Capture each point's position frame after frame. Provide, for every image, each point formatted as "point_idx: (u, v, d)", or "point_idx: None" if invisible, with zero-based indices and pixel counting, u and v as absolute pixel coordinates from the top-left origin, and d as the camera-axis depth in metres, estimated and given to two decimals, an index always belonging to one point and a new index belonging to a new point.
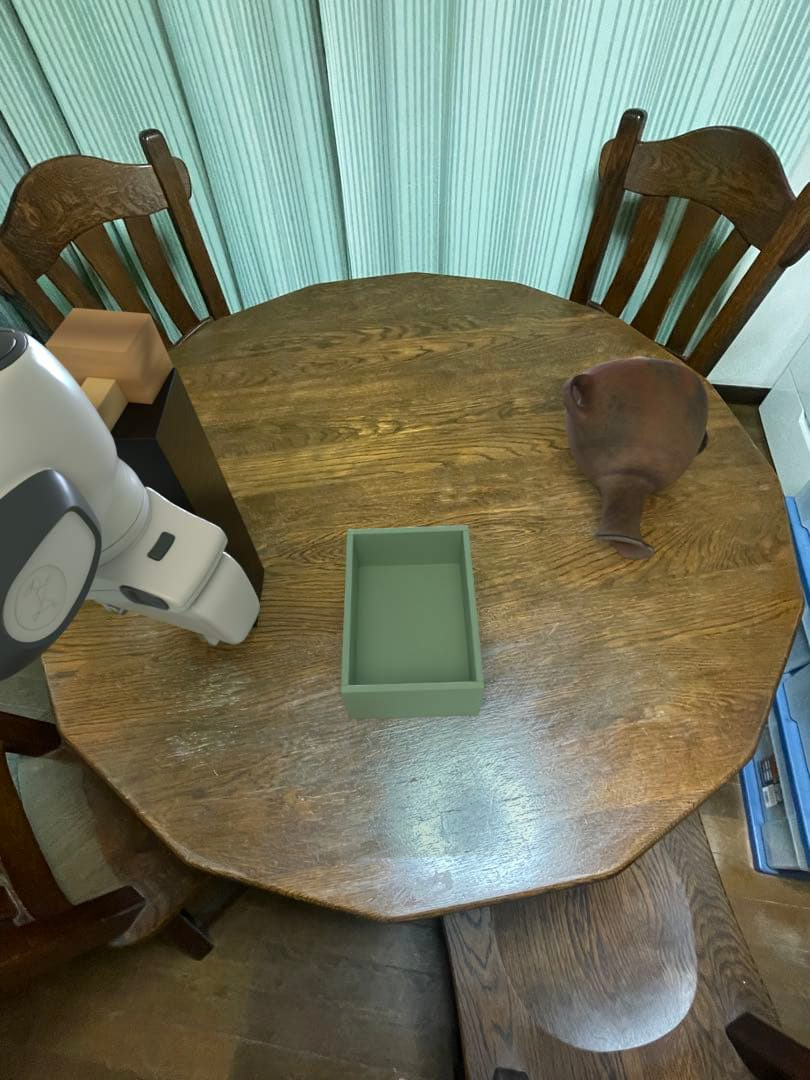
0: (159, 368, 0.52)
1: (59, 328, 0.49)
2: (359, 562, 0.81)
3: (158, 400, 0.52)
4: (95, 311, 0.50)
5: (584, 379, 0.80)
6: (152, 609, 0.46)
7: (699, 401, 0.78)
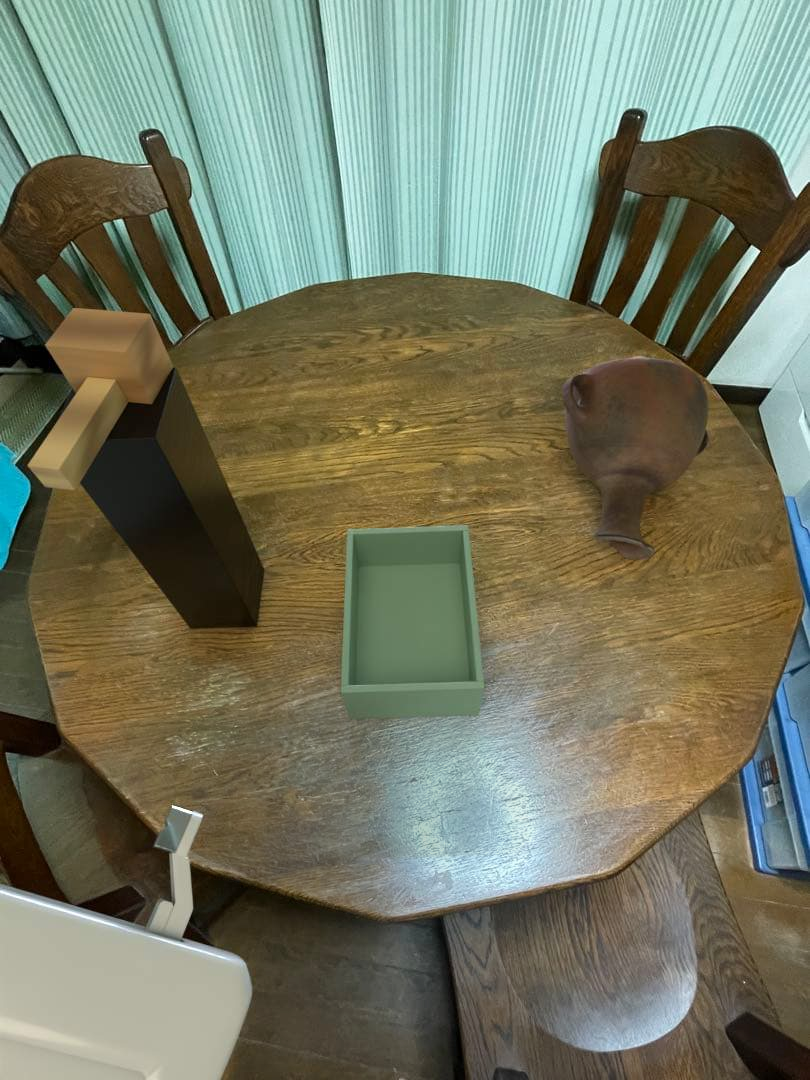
0: (159, 368, 0.52)
1: (59, 328, 0.49)
2: (359, 562, 0.81)
3: (158, 400, 0.52)
4: (95, 311, 0.50)
5: (584, 379, 0.80)
6: None
7: (699, 401, 0.78)
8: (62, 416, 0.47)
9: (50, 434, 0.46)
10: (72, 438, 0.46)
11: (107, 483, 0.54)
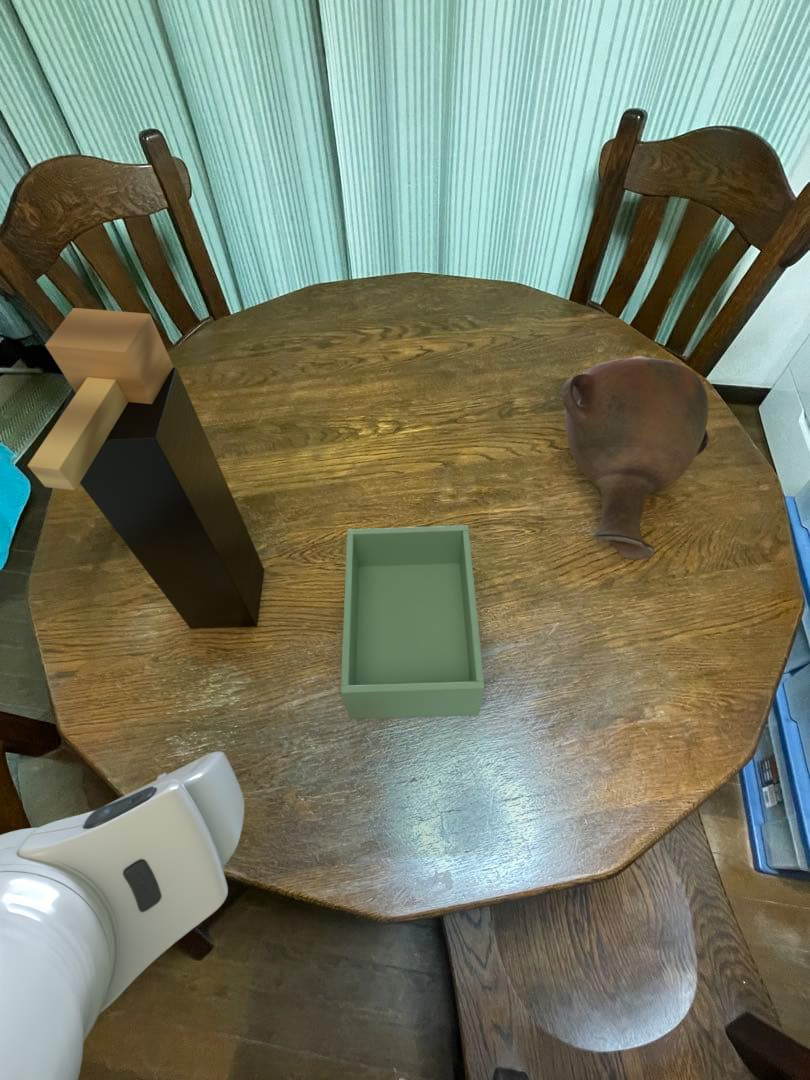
0: (159, 368, 0.52)
1: (59, 328, 0.49)
2: (359, 562, 0.81)
3: (158, 400, 0.52)
4: (95, 311, 0.50)
5: (584, 379, 0.80)
6: None
7: (699, 401, 0.78)
8: (62, 416, 0.47)
9: (50, 434, 0.46)
10: (72, 438, 0.46)
11: (107, 483, 0.54)
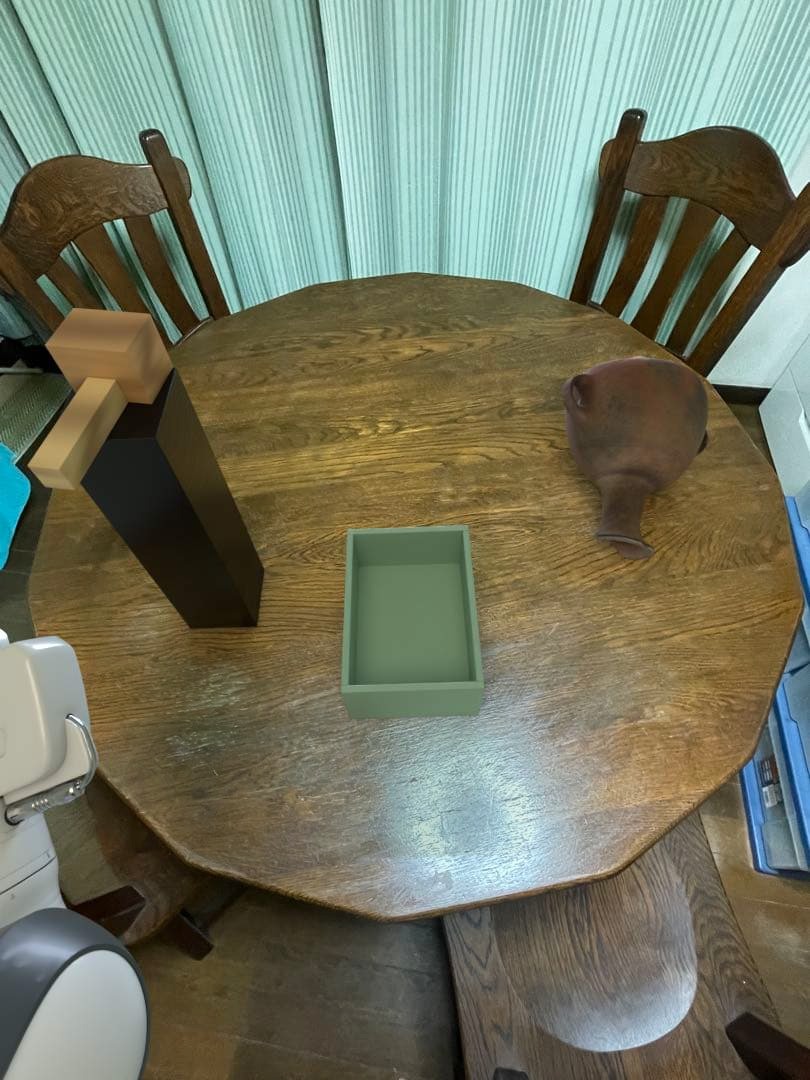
0: (159, 368, 0.52)
1: (59, 328, 0.49)
2: (359, 562, 0.81)
3: (158, 400, 0.52)
4: (95, 311, 0.50)
5: (584, 379, 0.80)
6: None
7: (699, 401, 0.78)
8: (62, 416, 0.47)
9: (50, 434, 0.46)
10: (72, 438, 0.46)
11: (107, 483, 0.54)
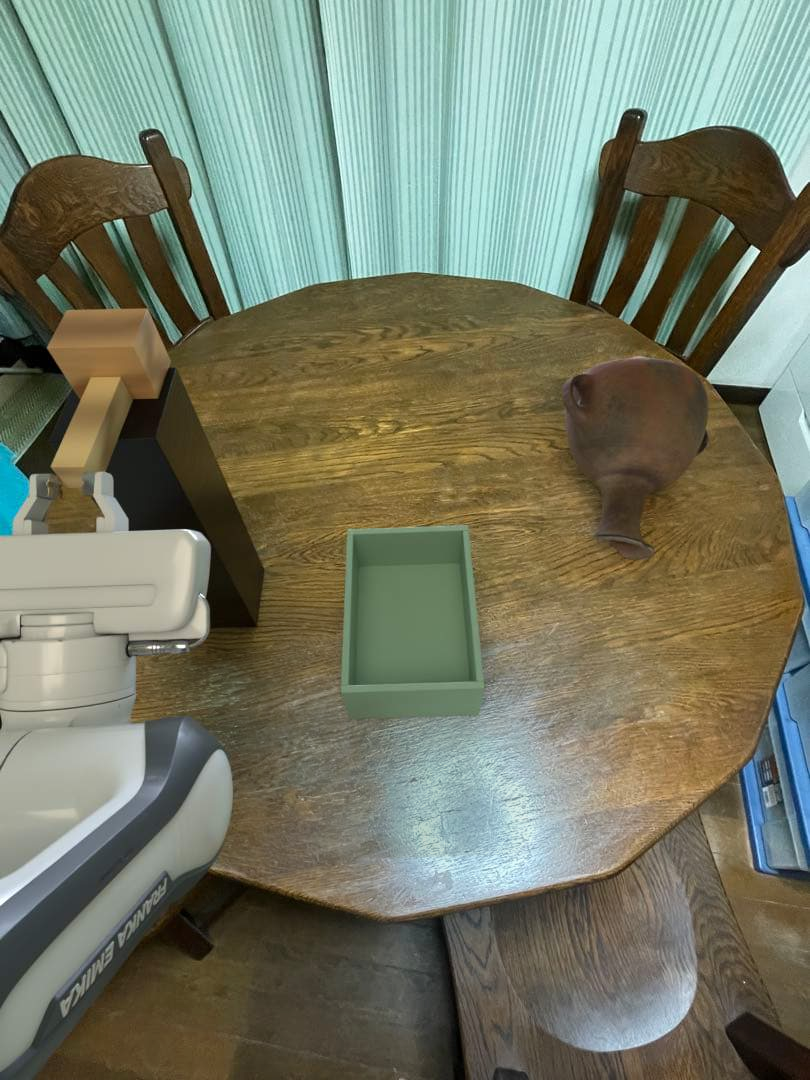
0: (160, 363, 0.52)
1: (57, 330, 0.48)
2: (359, 562, 0.81)
3: (158, 400, 0.52)
4: (90, 311, 0.50)
5: (584, 379, 0.80)
6: (18, 570, 0.42)
7: (699, 401, 0.78)
8: (74, 416, 0.47)
9: (66, 434, 0.46)
10: (91, 436, 0.46)
11: None
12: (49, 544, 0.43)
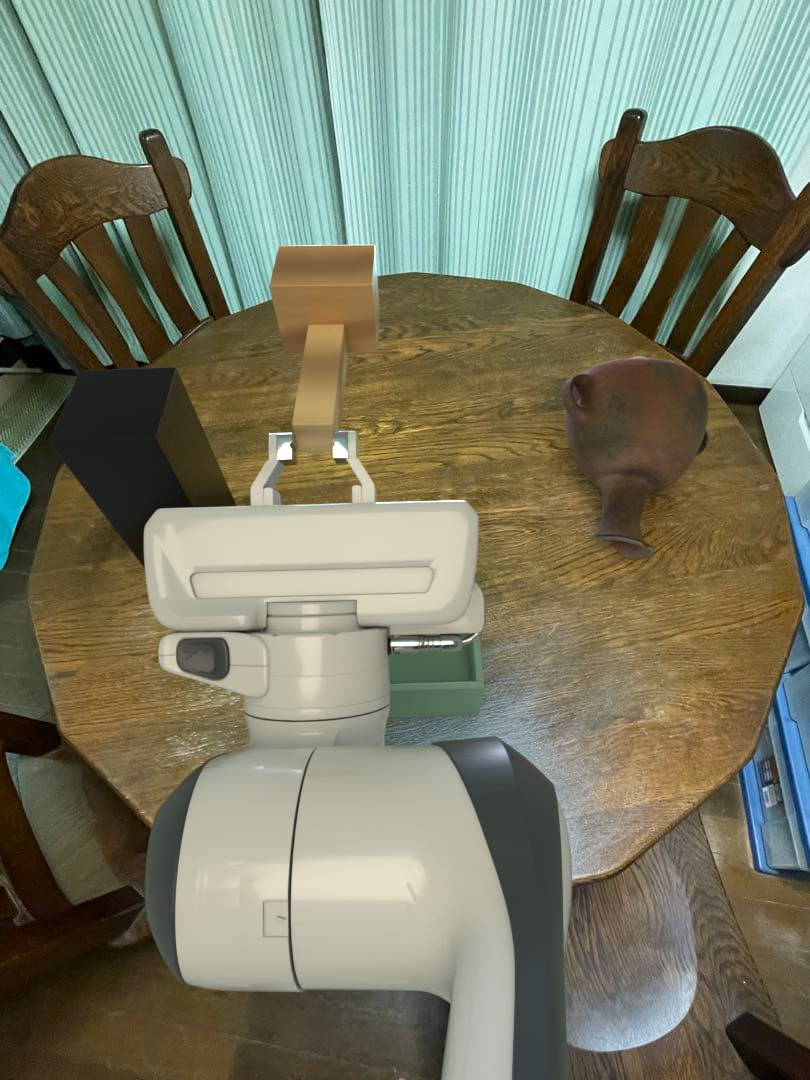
0: (377, 312, 0.45)
1: (276, 267, 0.41)
2: None
3: (158, 400, 0.52)
4: (308, 247, 0.42)
5: (584, 379, 0.80)
6: (263, 548, 0.35)
7: (699, 401, 0.78)
8: (303, 368, 0.39)
9: (300, 388, 0.38)
10: (331, 390, 0.38)
11: (107, 483, 0.54)
12: (300, 517, 0.35)
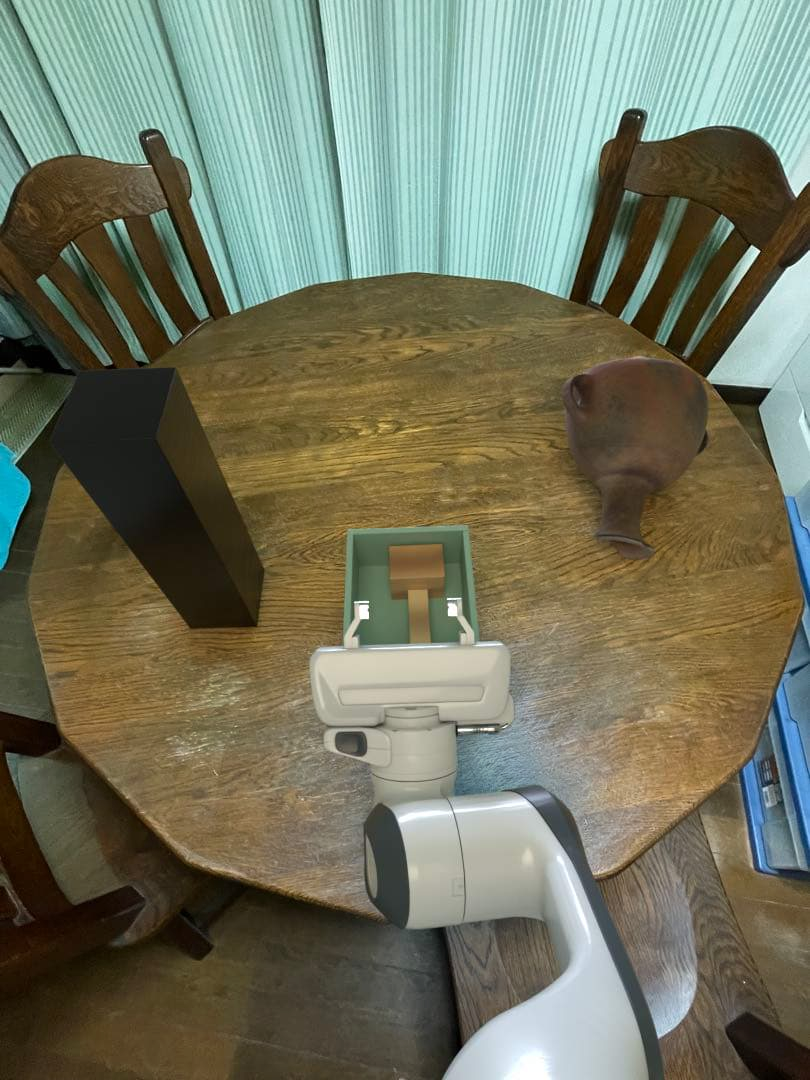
0: None
1: (391, 564, 0.75)
2: (359, 562, 0.81)
3: (158, 400, 0.52)
4: (405, 547, 0.77)
5: (584, 379, 0.80)
6: (381, 675, 0.58)
7: (699, 401, 0.78)
8: (410, 622, 0.74)
9: (411, 637, 0.73)
10: (427, 638, 0.73)
11: (107, 483, 0.54)
12: (403, 655, 0.58)
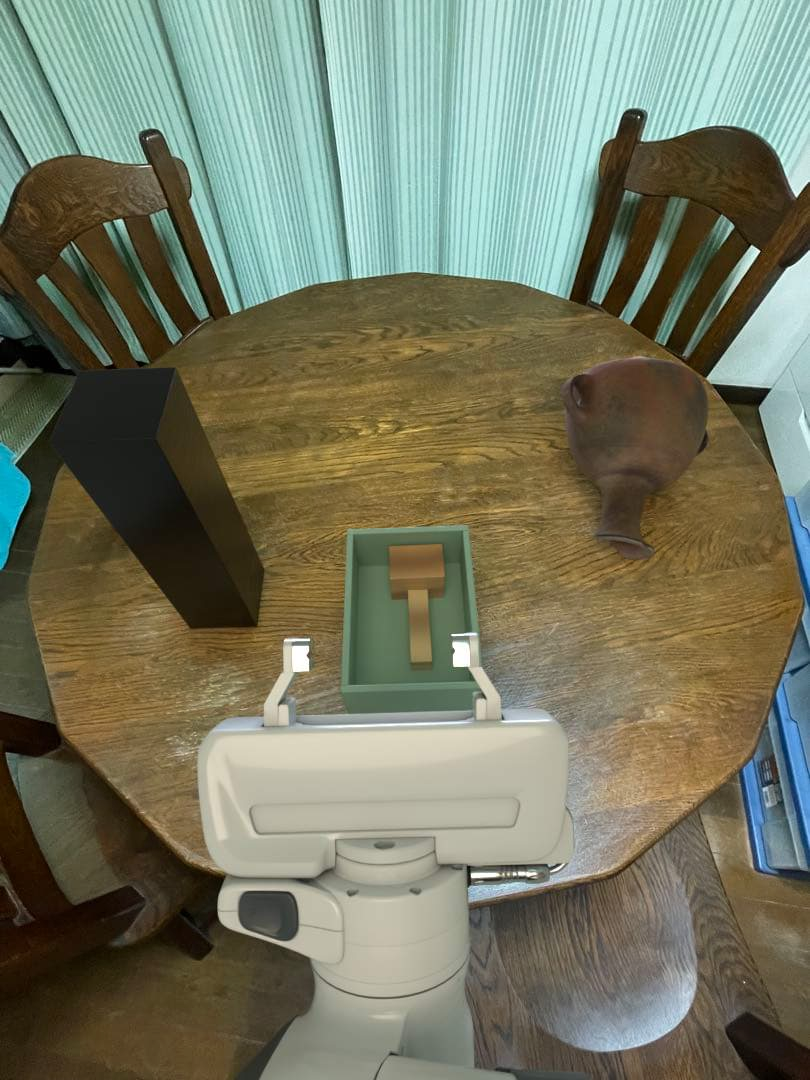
0: None
1: (391, 564, 0.75)
2: (359, 562, 0.81)
3: (158, 400, 0.52)
4: (405, 547, 0.77)
5: (584, 379, 0.80)
6: (330, 778, 0.31)
7: (699, 401, 0.78)
8: (410, 622, 0.74)
9: (411, 637, 0.73)
10: (427, 638, 0.73)
11: (107, 483, 0.54)
12: (371, 741, 0.32)
